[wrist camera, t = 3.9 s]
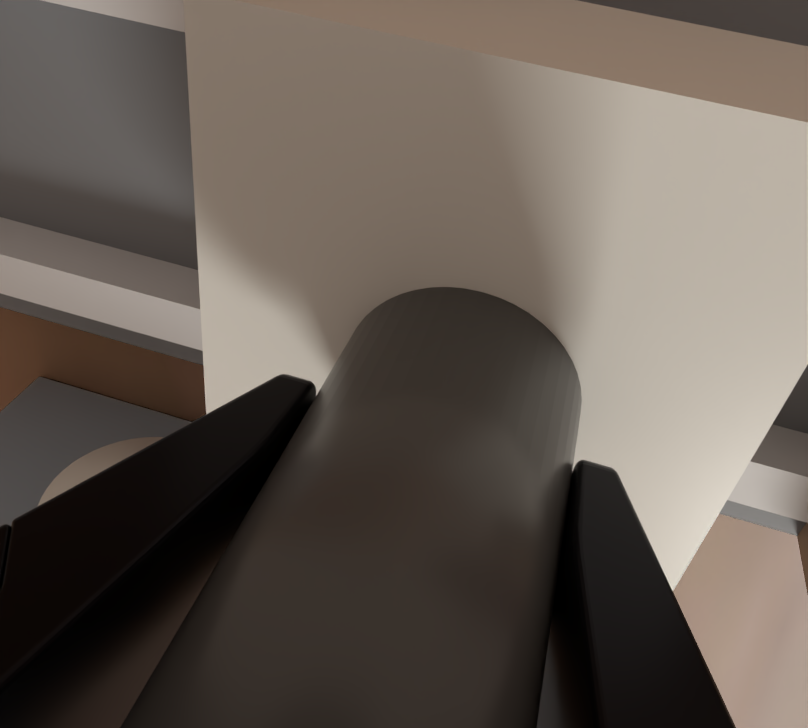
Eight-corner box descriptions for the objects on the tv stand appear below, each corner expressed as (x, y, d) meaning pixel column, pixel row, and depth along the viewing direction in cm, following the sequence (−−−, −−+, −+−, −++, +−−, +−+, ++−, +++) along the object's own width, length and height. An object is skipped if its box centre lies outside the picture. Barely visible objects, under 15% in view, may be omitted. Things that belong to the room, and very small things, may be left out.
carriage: (641, 508, 14) (616, 1235, 7) (283, 404, 15) (-63, 947, 8) (863, 56, 9) (1651, 1069, 2) (299, -56, 10) (-647, 308, 3)
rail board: (869, 522, 16) (920, 700, 12) (-192, 224, 19) (-356, 305, 16) (1281, 5, 9) (1585, 106, 6) (-407, -295, 13) (-745, -325, 10)
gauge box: (370, 617, 22) (292, 832, 18) (73, 519, 24) (-73, 695, 19) (396, 467, 18) (303, 694, 14) (35, 360, 20) (-161, 534, 15)
